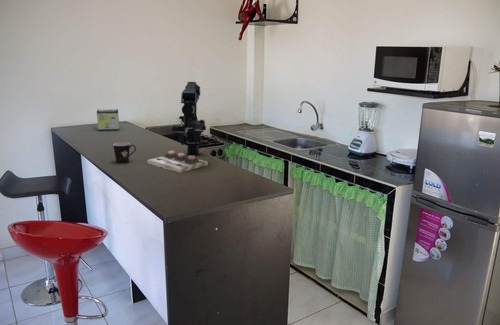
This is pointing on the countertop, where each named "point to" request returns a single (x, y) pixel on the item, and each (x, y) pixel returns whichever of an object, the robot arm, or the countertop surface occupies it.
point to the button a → (171, 152)
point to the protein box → (108, 120)
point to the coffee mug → (122, 152)
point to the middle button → (181, 155)
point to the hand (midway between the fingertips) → (189, 144)
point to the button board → (177, 163)
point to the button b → (191, 157)
